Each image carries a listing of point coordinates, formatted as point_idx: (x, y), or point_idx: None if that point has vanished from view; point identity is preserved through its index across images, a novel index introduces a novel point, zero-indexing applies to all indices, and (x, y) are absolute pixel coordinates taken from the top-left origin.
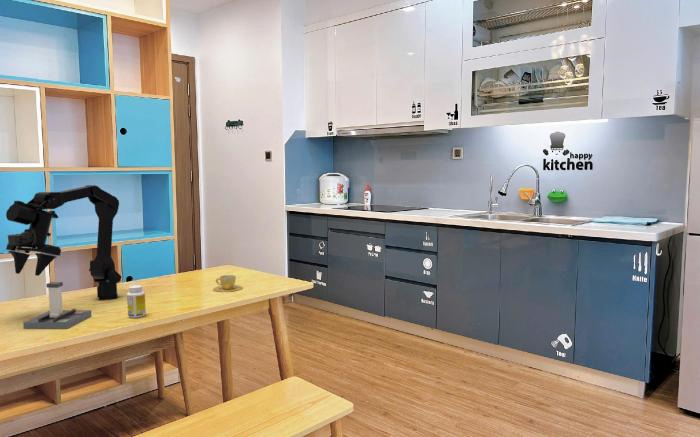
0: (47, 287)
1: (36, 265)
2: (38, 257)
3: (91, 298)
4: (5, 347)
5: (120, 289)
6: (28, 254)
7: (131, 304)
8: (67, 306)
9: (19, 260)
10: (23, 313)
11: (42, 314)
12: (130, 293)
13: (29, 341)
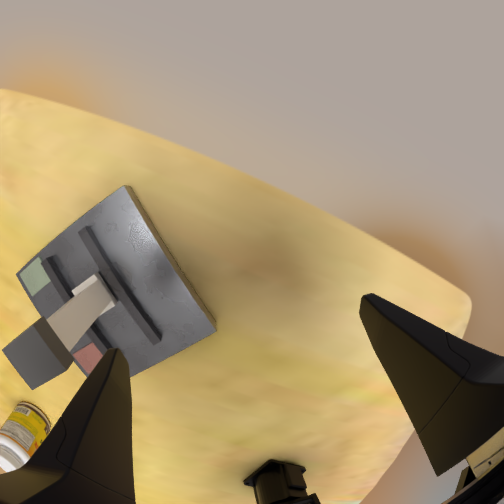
0: (40, 318)
1: (88, 412)
2: (32, 479)
3: (310, 453)
4: (17, 92)
5: (321, 497)
6: (442, 472)
7: (7, 421)
8: (291, 397)
9: (434, 383)
10: (339, 281)
11: (176, 283)
12: (2, 443)
13: (7, 148)
